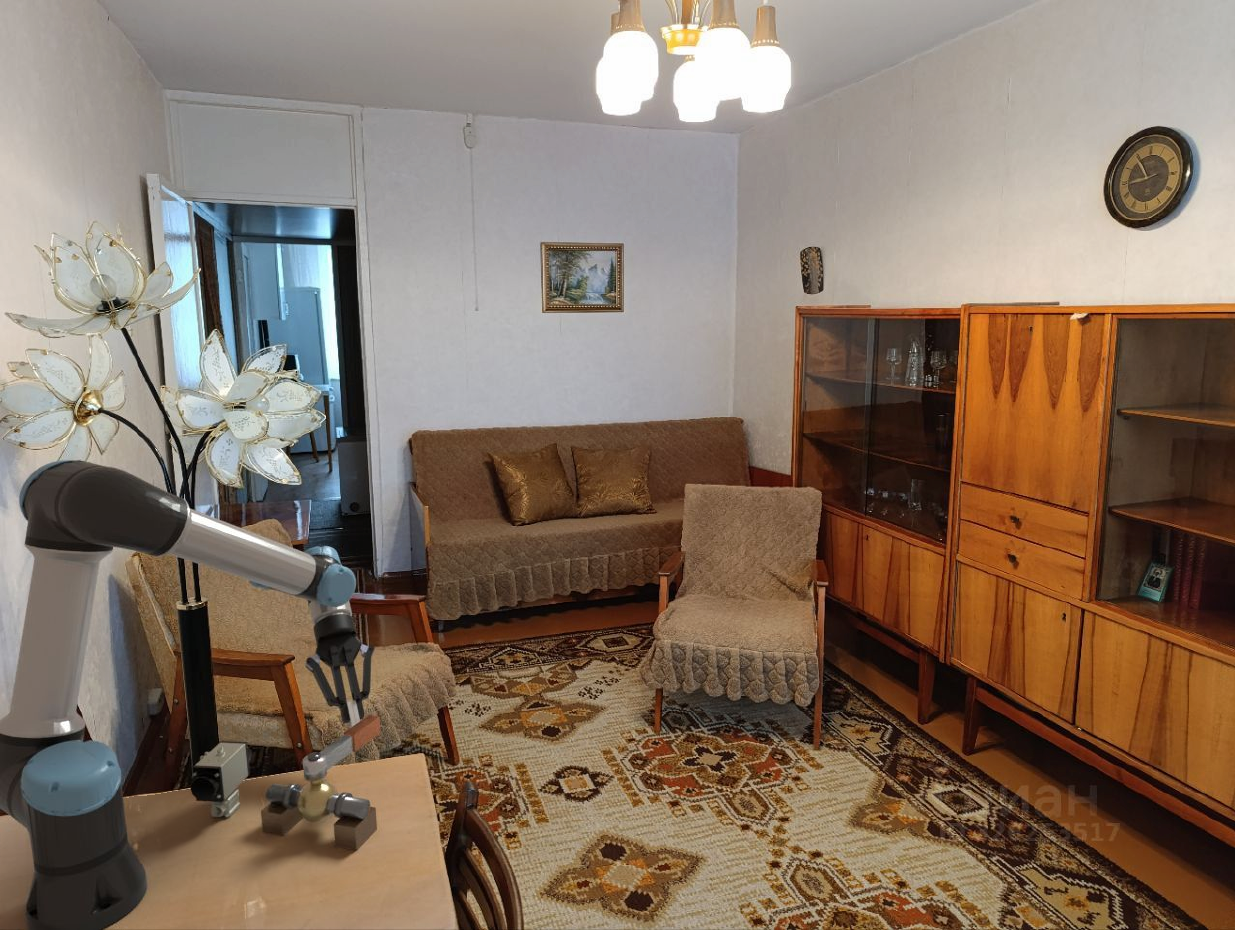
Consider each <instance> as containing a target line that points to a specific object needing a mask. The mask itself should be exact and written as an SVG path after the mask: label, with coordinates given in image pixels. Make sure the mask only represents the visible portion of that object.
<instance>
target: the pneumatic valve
mask: <svg viewBox="0 0 1235 930" xmlns="http://www.w3.org/2000/svg"><path fill="white" fill-rule="evenodd" d="M252 754H253V753H252V750H251V749H250V748H249V746H248V742H247V741H234V740H233V741H231V740H230V741H229V740H228V741H227V740H222V741H220V742H219V743H218V744H217V745H216V746H215V747H213V749H211V751H205V752H204V755H201V756H199V761H198V762H197V763H196V764H195V765H194V766H193V767H192V776H191V777H190V791H191V795H192V796H193V797H194V798H195V800H196V801H197V802H209V803H210V805H211V809H210V812H211V817H213V818H220V817H225V818H230V817H231V816H232V815H233V814H234V813H235V812H236V811H237V810H238V809H239V808H240V806H241V803H240V799H239V798H240V791H239V789H238V787H239V785H240V784H241V783H242V782H243V781H245V780H246V778H247V777H248V776H250V774H251V772H250V761H251V759H252Z"/></svg>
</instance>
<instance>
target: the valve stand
mask: <svg viewBox="0 0 1235 930" xmlns="http://www.w3.org/2000/svg"><path fill="white" fill-rule="evenodd" d="M265 799H266V802H267V803H268V804H267V805H265V806H264V808H262V809H261V810H260V817H261V818H260V819H261V827H262V828H261V829H262V833H263V834H267V835H268V834H269V835H274V836H278V837H284V836H285V835H287V833H289V832H290V831H291V830H292V829H293V828H294V827H296V826H297V825H298V823H301V821H302V820H303V819H304V821H306V822H310V823H321V822H324V821H326V820H327V819H329V818H330V817H332V816H333V814H334V817H335V818H337V820H336V821H335V822H334V823H333V835H334V836H333V837H334V847H336V848H341V849H346V850H351V851H356V852H357V851H358V850H359V849H360V848H361V847H362V846H363V845H364V844H365V843H366V841H367V840H368V839H369V838H370V837H371V836H372V835H373V834H374V833H375V832H376V831H377V829H378V824H377V822H378V821H377V809H376V806H371V801H370V800H369V799H366V798H360V797H354V796H353V794H352V793H350V792H345V791H344V792H341V793H338V789H337V788H336V787H335V786H334V784H332V783H331V782H329V781H328V780H324V779H323V778H322V779H320V780H317V781H309V782H307V784H305V785H304V786H303V787H302V785H301V784H298V783H290V784H288V785H284V784H279V783H272V784H270V786H269V787H268V788H267V790H266V794H265Z"/></svg>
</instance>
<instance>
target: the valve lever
mask: <svg viewBox="0 0 1235 930" xmlns="http://www.w3.org/2000/svg"><path fill="white" fill-rule="evenodd" d="M380 734H381V718H380V716H379V715H375V714H374V715H373V714H369V715H367V716H365V717H364V718H363V719H361V720H360V722H358V723H357V724H356V725H354V726H353V727H351V728H350V727H349V728H348V729H347V730H345V731H344V732H343V735H342V736H340V737H339V738H337V740H334V742H332V743H331V744H329V745H328V746H327V747H325V748H324V749H322V750H320V752H319V751H313V752H310V753H308V754H307V755H306V756H304V758H302V766H303V778H304V780H305V781H307V782H310V781H317V780H320V779H322V780H323V779H324V778H326V777H327V775H328V770H330V769H331V768H332V767H334V766H335V765H336V764H338V763H339V762H340V761H343V759H344V758H346V757H347V756H349V755H350V754H351V753H353V752H357V751H358V750H360V749H361V748H363V747H364V746H365V745H367V744H368V743H369V742H371V741H372V740H373V739H374V738H376V737H378V735H380Z"/></svg>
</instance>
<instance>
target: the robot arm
mask: <svg viewBox="0 0 1235 930" xmlns="http://www.w3.org/2000/svg"><path fill="white" fill-rule="evenodd" d="M18 500H19V502H18V503H19V508H20V511H21V513H22V515H23V516H22V517H24V519H25V520H26V521H27V527H26V532H25V533H26V534H25V539H24V547H25V548H26V549H27V550H28V551H29V552H30V553H31V554H32V555H33V558H34V560H33V565H32V571H31V578H30V583H29V589H28V590H29V591H28V595H27V596H28V598H27V603H26V607H25V608H26V609H25V616H24V621H23V629H22V633H21V634H22V635H21V639H20V647H19V653H18V659H17V666H16V672H15V678H14V684H13V691H12V696H11V703H10V710H9V713H8V714H7V715H6V716H3V717H2V718H1V719H0V809H1V810H2V811H3V812H5V813H6V814H7V815H9V816H10V817H11V818H12V819H14V820H15V821H17V823H19V824H20V825H22V826H23V827H24V828H26V830H27V832H28V835H29V841H30V846H31V847H30V848H31V853H32V859H33V866H34V873H33V876H32V880H31V883H30V884H31V885H30V889H29V892H28V896H27V900H26V905H25V919H26V925H27V929H28V930H102V929H104V928H106V927H108V926H111V925H112V924H114V923H116V922H118V921H119V920H120V919H122V918H124V917H125V916H126V915H128V914H129V913H131V911H132V910H134V909H135V908H136V907H137V906H138V905H139V904H140V903H141V901H142V900H143V898H144V897H145V895H146V893H147V889H148V882H147V874H146V869H145V867H144V865H143V864H142V862H141V860H140V858H139V857H138V855H137V854H136V851H135V850H134V849H133V847H132V846H131V844H130V841H129V839H128V838H129V837H128V832H127V831H128V829H127V823H126V822H127V821H126V812H125V805H124V804H125V803H124V795H123V787H122V770H121V767H120V764H119V762H118V757H117V755H116V752H115V750H113V748H111V747H110V746H109V745H107V744H106V743H104V742H100V741H96V740H91V739H89V740H87V741H84V736H85V730H86V729H85V728H86V720H85V719H84V718H83V717H82V716H81V715H80V714H79V713H78V711H77V707H78V700H79V695H80V688H81V682H82V677H83V669H84V663H85V656H86V650H87V646H88V645H87V644H88V640H89V639H88V638H89V632H90V626H91V619H92V613H93V608H94V602H95V601H94V600H95V595H96V594H95V593H96V588H97V581H98V575H99V570H100V564H101V563H100V562H101V561H102V560H103V559H105V558H106V557H107V556H108V555H110V554H112V552H113V550H114V548H119V549H123V550H130V551H133V552H134V551H135V552H139V553H143V554H146V555H149V556H151V557H155V558H160V557H163V556H165V555H171V556H174V557H177V558H180V559H184V560H186V561H190V562H192V563H195V564H199V565H201V566H204V567H208V568H211V569H213V570H217V571H220V572H224V573H225V574H229V575H233V576H235V577H237V578H242V579H243V580H248V582H249V584H250V585H251V586H253V587H255V588H260V589H263V590H266V591H269V590H271V591H277V592H280V593H283V594H286V595H290V596H294V597H295V598H296V597H297V598H299V599H303V600H304V599H305V600H307V603H308V607H309V612H310V619H311V623H312V625H313V633H314V638H315V639H314V640H315V642H316V649H315V652H314V654H313V655H312V656H310V657H307V658H306V661H305V668H306V669H307V670H308V671H309V672H310V673H312V675H313V677H314V679H315V681H316V683H317V685H318V687H319V689H320V691H321V693H322V695H323V697H324V699H325V701H326V704H327V705H328V706H329V707H331V708H332V707H338V709H339V711H340V715H341V717H340V718H341V721H342V723H343V724H348V726H349V729H350V728H351V727H353V726H354V725H356V724H357V723H358V722H360V721H361V720H363V719H364V718H365V709H364V705H363V701H364V700H366V699H368V698H369V695H370V693H371V680H372V679H371V676H372V657H373V656H374V652H375V648H376V647H375V646H374V645H369V646H368V645H365V644H362V640H360V638H359V637H358V634H357V629H356V624H355V621H354V618H353V617H352V616H353V612H352V607H351V602H350V600H351V599H352V597H353V595H354V593H355V590H356V587H357V578H356V576H355V573H354V572H353V571H352V570H351V568H349V567H347V566H343V565H342V563H341V559H340V555H339V554H338V552H337V550H336V549H335V548H334V547H332V546H328V545H322V546H318V545H317V546H314V547H311V548H308V549H306V550H305V551H301V550H299V549H296V548H294V547H291V546H288V545H286V544H284V543H281V542H278V541H275V540H274V539H271V538H268V537H265V536H262V535H260V534H257V533H254V532H252V531H249V530H247V529H244V528H242V527H240V526H236V525H234V524H231V523H229V522H227V521H224V520H222V519H221V520H220V519H219V518H216V517H213V516H212V515H211V516H210V515H208V514H206V513H204V512H200V511H198V510H196V509H192V508H190V505H189V503H188V501H187V500H186V499H184V498H183V497H180V496H178V495H176V494H173V493H170V492H168V491H166V490H164V489H162V488H160V487H157V486H155V485H153V484H151V483H150V482H147V481H145V480H143V479H142V478H140V477H139V476H136V475H134V474H131V473H130V472H127V471H126V470H124V469H120V468H116V467H112V466H107V465H101V464H97V463H93V462H90V461H89V462H88V461H84V460H81V459H76V460H75V459H72V460H71V459H70V460H69V459H68V460H67V459H65V460H63V459H62V460H57V461H52V462H49V463H46V464H45V465H43V466H40V467H39V468H37V469H36V470H34V471H33V472H32V473H31V474H30V475H28V477H27V478H26V479H25V481H24V482H23V485H22V487H21V489H20V492H19V499H18ZM359 653H361V657H362V658H363V660H362V661H363V664H362V685H361V686H362V689H360V686H359V681H358V680H359V679H358V677H357V671H356V667H355V660H356V658H358V654H359ZM321 662H322V663H324V664H325V665H326V666H327V667H329V668H330V671H331V675H332V679H333V684H334V689H335V693H334V691H333V689H332V687H331V685H330V682H329V681H328V679H327V677H326V675H325V673H324V670H323V669H322V667H321ZM341 667H344V668H345V671H346V676H347V680H348V685H349V690H350V693H351V698H352V701H348V700H347V694H346V690H345V686H344V685H345V684H344V681H343V675H342V671H341ZM335 694H336V695H335Z"/></svg>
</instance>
